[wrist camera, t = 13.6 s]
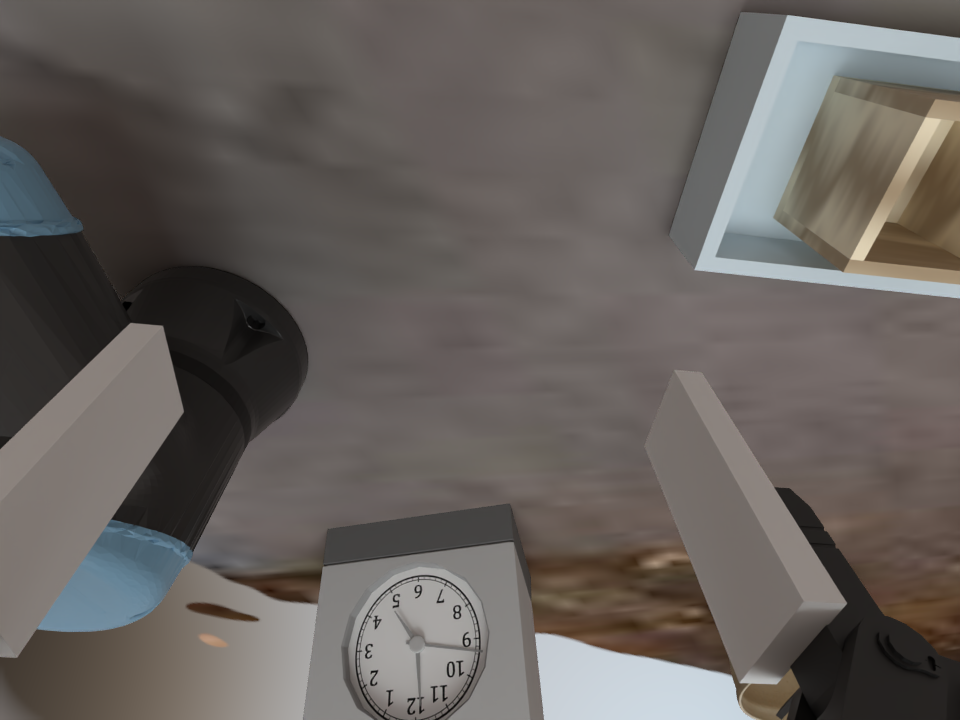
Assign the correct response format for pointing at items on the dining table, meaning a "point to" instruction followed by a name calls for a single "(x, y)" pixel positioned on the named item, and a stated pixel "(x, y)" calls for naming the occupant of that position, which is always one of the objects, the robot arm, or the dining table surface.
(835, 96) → the birch crate
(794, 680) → the planter bowl
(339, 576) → the alarm clock
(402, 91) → the dining table surface
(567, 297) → the dining table surface
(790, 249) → the light blue crate
